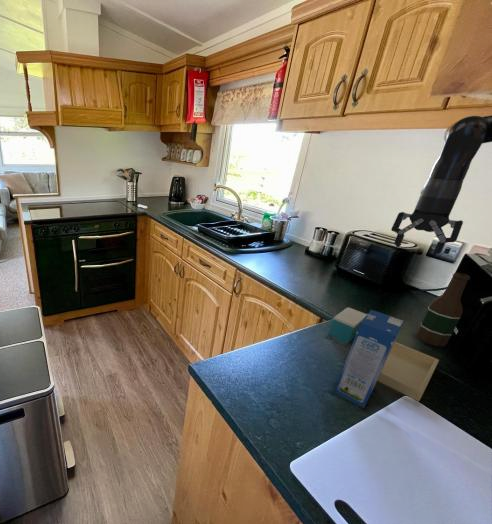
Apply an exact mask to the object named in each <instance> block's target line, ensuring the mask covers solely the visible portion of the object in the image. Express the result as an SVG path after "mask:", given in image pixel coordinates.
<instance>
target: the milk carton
mask: <svg viewBox="0 0 492 524" xmlns="http://www.w3.org/2000/svg"><path fill="white" fill-rule="evenodd" d="M366 314H367V316H366V317H365V318H364V319H363V320H362V322H361V323H360V326H359V329H358V331H357V334H356V336H355V338H354V339H353V342H352V344H351V347H350V350H349V352H348V355H347V357H346V360H345V362H344V365H343V368H342V370H341V372H340V375H339V378H338V379H337V380H338V381H337V384H336V386H335V388H334V391H333V392H334V393H335V394H336V395H337V394H338V395H339V396H340V397H342V398H344V399H346V400H347V401H349V402H352V403H354V404H355V405H357V406H359V407H361V408H363V409H365V407H366V405H367V403H368V401H369V399H370V398H371V395H372V393H373V391H374V388H375V387H376V385H377V382H378V381H377V380H378V378H379V376H380V373H381V371H382V369H383V367H384V364H385V362H386V360H387V358H388V355H389V353H390V351H391V349H392V346H393V344H394V342H396V340H397V338H398V335H399V333H400V330H401V328H402V326H403V324H404V322H405V321H404V319H403V320H402V319H400V318H397V317H394V316H391V315H388V314H385V313H382V312H379V311H376V310H374V309H370V310H369V312H368V313H366Z"/></svg>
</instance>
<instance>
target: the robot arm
mask: <svg viewBox="0 0 492 524" xmlns="http://www.w3.org/2000/svg"><path fill="white" fill-rule="evenodd" d="M443 140H444V145H443V147H442V150H441V152H440V154H439V156H438V157H437V159H436V160H435V162H434V163H433V165H432V168H431V170H430V173H429V175H428V178H427V179H426V181H425V183H424V185H423V187H422V189H421V190H420V194H419V197H418V199H417V202H416V205H415V207H414V210H413V212H412V213H408V212H405V211H400V212H399V213H397V216H396V218H395V220H394V222H393V224H392V227H391V228H390V229H391V232H395V234H396V237H395V240H394V243H393V244H394V245H395V247H396V248H399V247H401V245H402V242H403V240H404V237H405V234H406V233H407V232H409V231H411V230H413V229H415V230H416V231H423V232H427V233H434V234H435V236H436V237H437V239H438V242H437V243H436V245H435V248H434V250H433V252H432V255H434V256H437V255H439V254H440V253H442V251H443V249H444V247H445V245H446V244H447V243H455V242H456V241H457V240H458V238H459V235H460V232H461V229H462V226H463V224H464V221H463V220H461V219H460V220H453V219H450V215H451V214H452V210H453V208H454V206H455V204H456V202H457V200H458V197H459V195H460V194H461V190H462V187H463V183H464V180H465V179H466V176H467V174H468V172H469V169H470V166H471V164H472V161H473V159H474V158H475V156H476V155H477V153H478V151H479V150H480V148H481V146H482V145H483V144H487V143H488V144H489V143H492V115H485V116H480V115H469V116H466V117H463V118H461V119H459V120H457V121H455V122H454V123H452V124H451V125H450V126H448V128H447V129H446V130H445V131H444V135H443ZM407 218H409V220H410V224H408V225H407V226H405V227H403V228H402V229H401V228H400V226H401V225H402V223H403V221H405V220H407ZM448 224H449V226H450V228H451V229H452V232H451V234H450V237H447V236H446V235H445V232H444V230H443V227H445V226H447V225H448Z"/></svg>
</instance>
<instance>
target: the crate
mask: <svg viewBox="0 0 492 524" xmlns="http://www.w3.org/2000/svg"><path fill="white" fill-rule="evenodd" d="M439 362H440V359H438V358H436V357H433V356H431V355H428V354H426V353H424V352H421V351H419V350H417V349H414V348H411V347H409V346H408V345H407V346H406V345H404V344H401V343H399V342H397V341H395V342H394V344H393V346H392V349H391V351H390V353H389V355H388V358H387V360H386V362H385V364H384V367H383V369H382V371H381V373H380V376H379V378H378V380H377V382H379V383H381V384H383V385H385V386H387V387H389V388H391V389H393V390H395V391H397V392H399V393H401V394H403V395H404V396H407V397H409V398H410V399H413V400H414V401H416V402H420V400H421V398H422V397H423V396H424V393H425V391H426V389H427V387H428V384H429V383H430V380H431V378H432V377H433V374H434V372H435V370H436V368H437V366H438V364H439Z"/></svg>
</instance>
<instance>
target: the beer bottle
mask: <svg viewBox="0 0 492 524" xmlns="http://www.w3.org/2000/svg"><path fill="white" fill-rule="evenodd" d="M470 279H471V276H470V275H468V274H466V273H462V272H454V273H453V274H452V278H451V279H450V282H449V283H448V285H447V287H446V288H445V290H444V291H443V293H442V294H440V295H438V296H436V297H435V298H433V299H432V300H431V301H430V303H429V305H428V306H427V309H426V311H425V312H424V314H423V317H422V318H421V321H420V323H419V325H418V327H417V330H416V333H415V335H416V338H417V339H418V340H420V341H421V342H423V343H425V344H428V345H431V346H433V347H439V348H440V347H442V348H444V347H446V346H447V344H448V343H449V340H450V339H451V336H452V335H453V333H454V331H455V329H456V327H457V325H458V323H459V321H460V319H461V317H462V315H463V311H464V309H463V305H462V302H461V299H462V295H463V293H464V291H465V288H466V286H467V283H468V281H470Z"/></svg>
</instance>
